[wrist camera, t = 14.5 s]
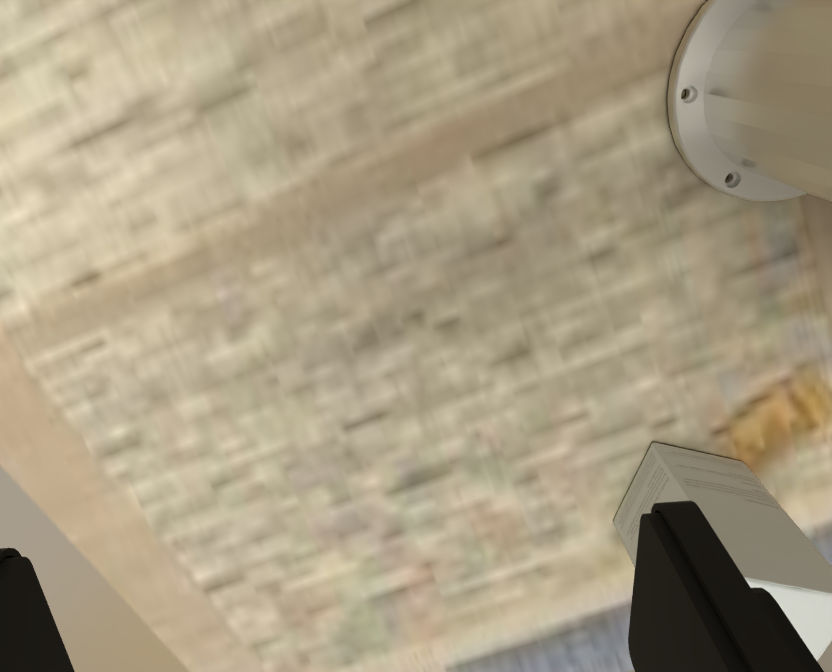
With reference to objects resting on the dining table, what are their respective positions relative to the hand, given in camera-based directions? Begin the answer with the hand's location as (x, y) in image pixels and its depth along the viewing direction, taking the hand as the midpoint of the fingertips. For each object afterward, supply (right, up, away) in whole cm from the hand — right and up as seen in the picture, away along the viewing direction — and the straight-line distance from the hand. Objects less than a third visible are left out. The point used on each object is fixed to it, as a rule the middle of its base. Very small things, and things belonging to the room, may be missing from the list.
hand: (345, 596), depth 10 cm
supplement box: (+20, -7, +37) cm, 43 cm away
